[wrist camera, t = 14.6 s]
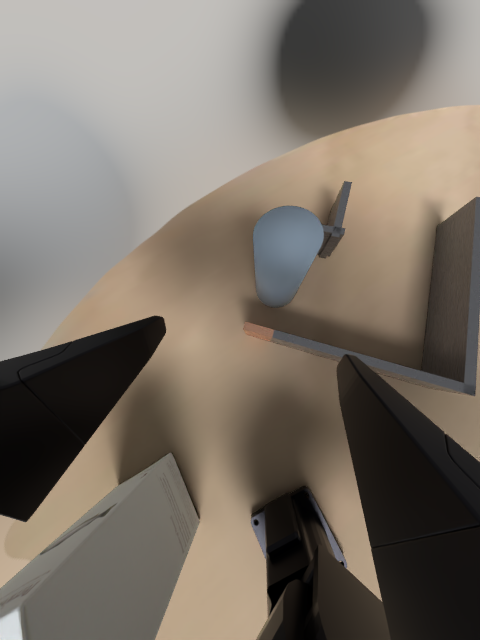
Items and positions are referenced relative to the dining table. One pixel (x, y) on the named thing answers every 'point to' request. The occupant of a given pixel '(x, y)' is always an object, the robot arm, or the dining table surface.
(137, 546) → the supplement box
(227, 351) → the dining table surface
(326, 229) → the bent channel
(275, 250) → the slate peg
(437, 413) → the dining table surface
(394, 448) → the robot arm
